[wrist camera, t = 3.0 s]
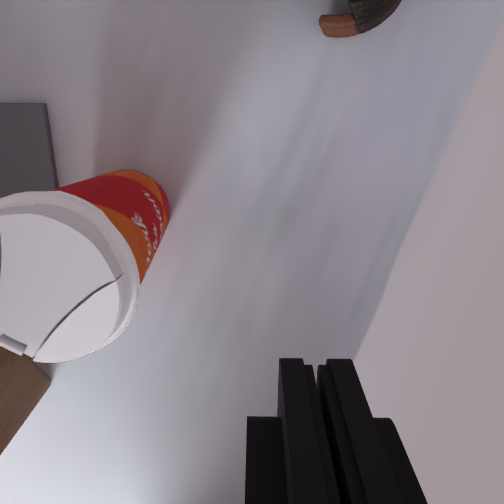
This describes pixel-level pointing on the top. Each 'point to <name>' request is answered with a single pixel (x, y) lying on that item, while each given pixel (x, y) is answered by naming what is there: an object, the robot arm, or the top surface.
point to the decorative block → (18, 392)
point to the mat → (25, 149)
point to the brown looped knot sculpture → (358, 17)
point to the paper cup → (76, 263)
